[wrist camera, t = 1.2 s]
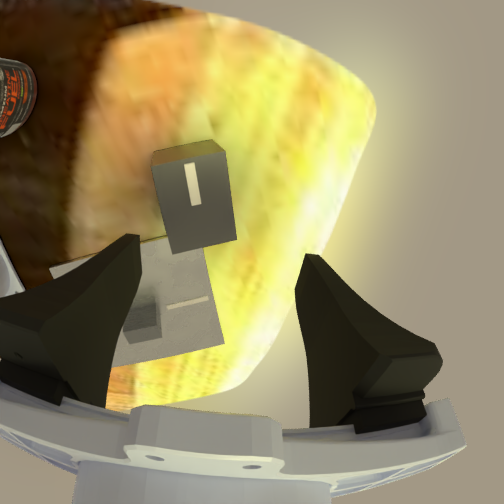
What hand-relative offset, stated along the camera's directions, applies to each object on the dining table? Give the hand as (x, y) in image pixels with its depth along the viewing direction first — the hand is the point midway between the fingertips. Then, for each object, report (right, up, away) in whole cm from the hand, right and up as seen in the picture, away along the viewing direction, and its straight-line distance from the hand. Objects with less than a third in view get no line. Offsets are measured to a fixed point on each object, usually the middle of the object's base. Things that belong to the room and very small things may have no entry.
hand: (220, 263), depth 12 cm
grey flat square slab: (-9, -5, +14) cm, 17 cm away
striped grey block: (-3, +6, +9) cm, 11 cm away
